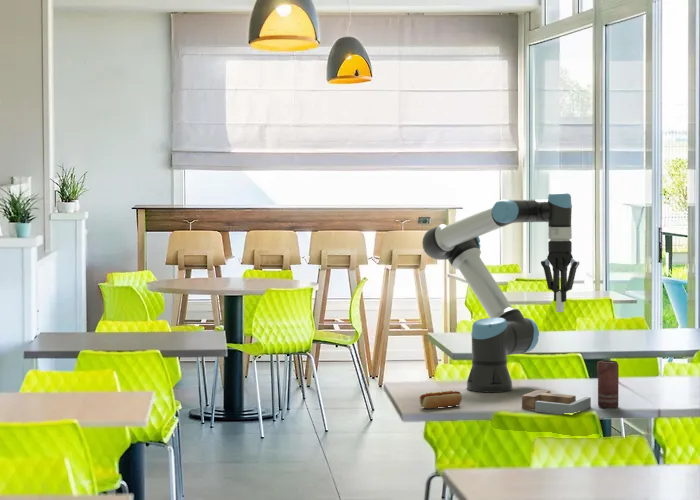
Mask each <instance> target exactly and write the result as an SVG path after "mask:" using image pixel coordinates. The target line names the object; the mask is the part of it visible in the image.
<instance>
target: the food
mask: <svg viewBox="0 0 700 500" xmlns="http://www.w3.org/2000/svg"><path fill="white" fill-rule="evenodd" d="M462 400H463V397H462V394H461V392H460V391H455V390H447V391H446V390H445V391H436V392H425V393H423V394H421V395H420V396H419V404H420V407H424V408H438V407H448V406H455V407H457V406H456V405H458V406H460V404H461V402H462ZM424 408H423V409H424Z"/></svg>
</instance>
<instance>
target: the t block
mask: <svg viewBox="0 0 700 500" xmlns="http://www.w3.org/2000/svg"><path fill="white" fill-rule="evenodd" d="M576 399H577V397H576V395H572V394H563V393H552V392H551V390H546V389H536V390H534V391H530V392H528V393H524V394H522V395H521V409H524V410H531V411H532V410H534V411H535V401H544V402H554V403H564V404H570V403H573V402H575V401H577V400H576Z"/></svg>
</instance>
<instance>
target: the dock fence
mask: <svg viewBox="0 0 700 500" xmlns="http://www.w3.org/2000/svg"><path fill="white" fill-rule="evenodd" d="M591 400H592V397H591V396H586V397H583V398H580V399H577V400H576V401H575V402H573V403H570V404H564V403H554V402H544V401H535V410H534V411H535V412H536V413H546V414H554V415H555V414H556V415H562V414H564V413H574V412H578V411H581V412H583V411H585V410H587V409H590V408H591V407H592V406H591V405H592V402H591ZM589 407H590V408H589ZM582 410H583V411H582Z"/></svg>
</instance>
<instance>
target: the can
mask: <svg viewBox="0 0 700 500" xmlns="http://www.w3.org/2000/svg"><path fill="white" fill-rule="evenodd" d="M619 369H620V368H619V363H618V361H616V360H609V359H608V360H599V361H597V364H596V372H597V406H598V408H600V407H601V409H606V408H614V409H617V408H618V407H619V381H620V380H619V371H620V370H619ZM616 407H617V408H616Z"/></svg>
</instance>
